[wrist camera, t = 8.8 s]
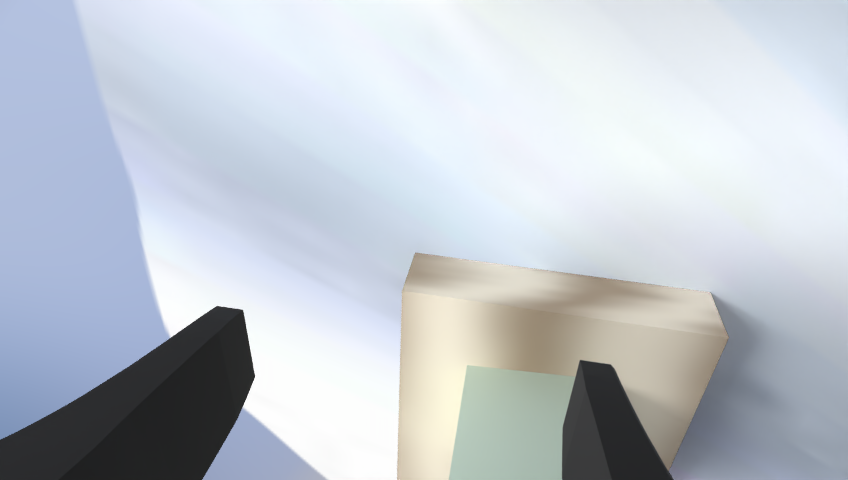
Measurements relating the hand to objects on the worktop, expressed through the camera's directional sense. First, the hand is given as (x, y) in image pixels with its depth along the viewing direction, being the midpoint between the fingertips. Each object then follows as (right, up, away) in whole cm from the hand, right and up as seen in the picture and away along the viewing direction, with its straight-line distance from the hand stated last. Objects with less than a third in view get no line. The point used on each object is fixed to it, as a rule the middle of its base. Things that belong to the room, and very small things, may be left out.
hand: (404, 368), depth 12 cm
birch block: (+5, -3, +13) cm, 14 cm away
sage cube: (+5, -4, +10) cm, 12 cm away
